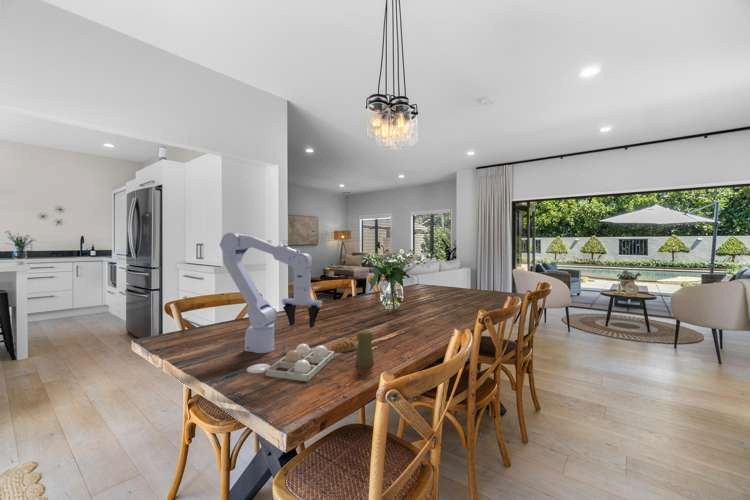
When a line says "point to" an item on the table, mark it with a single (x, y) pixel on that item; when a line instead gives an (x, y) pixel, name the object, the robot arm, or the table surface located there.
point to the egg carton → (290, 373)
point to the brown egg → (292, 356)
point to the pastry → (344, 345)
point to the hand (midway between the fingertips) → (301, 326)
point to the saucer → (257, 368)
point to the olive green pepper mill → (364, 349)
